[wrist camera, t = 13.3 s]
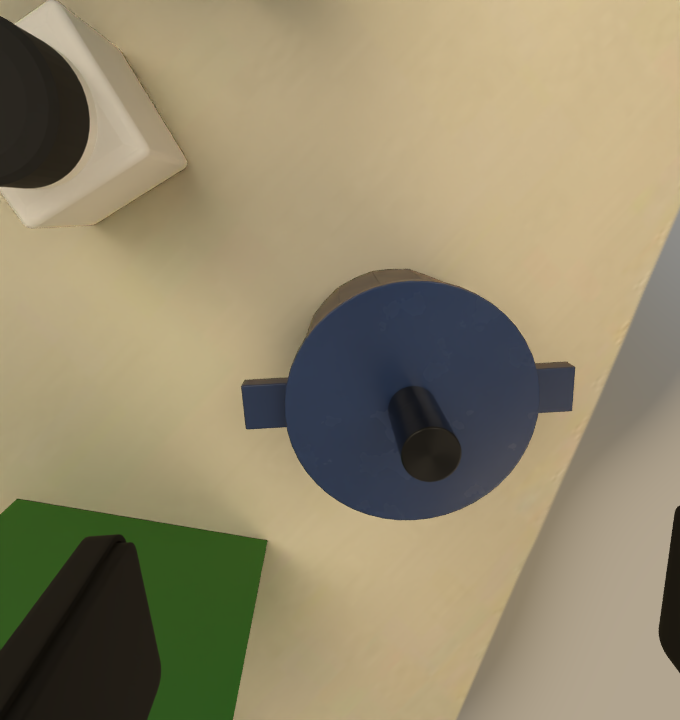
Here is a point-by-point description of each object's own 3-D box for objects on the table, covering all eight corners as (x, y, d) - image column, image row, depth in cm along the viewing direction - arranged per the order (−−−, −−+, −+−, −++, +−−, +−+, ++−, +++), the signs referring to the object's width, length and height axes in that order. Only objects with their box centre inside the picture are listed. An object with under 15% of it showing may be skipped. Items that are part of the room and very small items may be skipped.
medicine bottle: (118, 45, 29) (-26, -68, 17) (191, 165, 30) (105, 136, 19) (16, 114, 29) (-188, 51, 18) (92, 227, 31) (-49, 236, 20)
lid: (275, 285, 24) (258, 308, 19) (537, 270, 24) (603, 288, 19) (296, 515, 28) (286, 596, 22) (526, 502, 28) (578, 579, 22)
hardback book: (13, 586, 38) (-475, 1164, 15) (17, 498, 36) (-540, 1009, 13) (251, 623, 39) (138, 1208, 16) (267, 540, 37) (164, 1072, 14)
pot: (254, 276, 32) (227, 298, 24) (524, 261, 32) (589, 278, 24) (270, 444, 35) (252, 514, 27) (516, 430, 35) (572, 496, 27)
